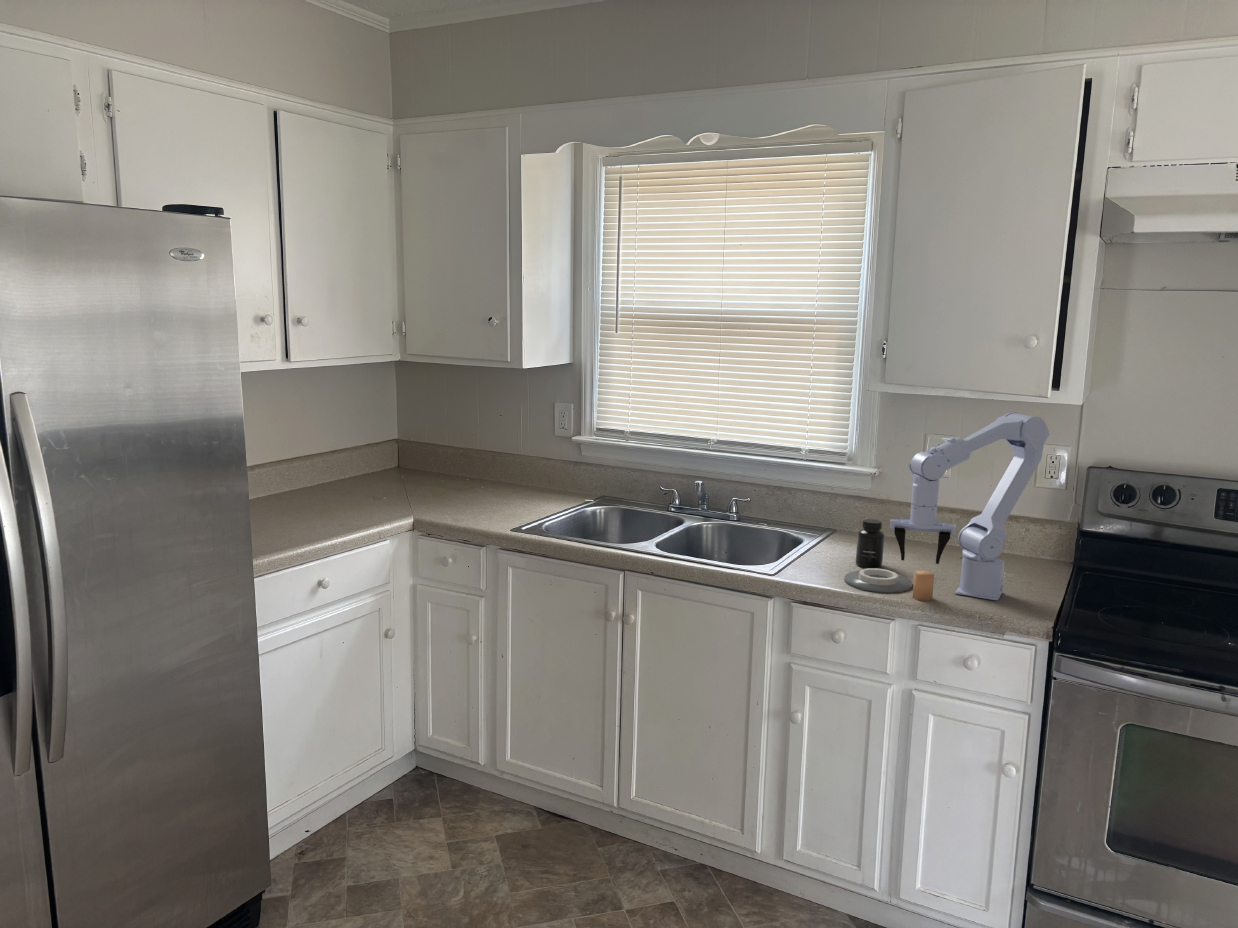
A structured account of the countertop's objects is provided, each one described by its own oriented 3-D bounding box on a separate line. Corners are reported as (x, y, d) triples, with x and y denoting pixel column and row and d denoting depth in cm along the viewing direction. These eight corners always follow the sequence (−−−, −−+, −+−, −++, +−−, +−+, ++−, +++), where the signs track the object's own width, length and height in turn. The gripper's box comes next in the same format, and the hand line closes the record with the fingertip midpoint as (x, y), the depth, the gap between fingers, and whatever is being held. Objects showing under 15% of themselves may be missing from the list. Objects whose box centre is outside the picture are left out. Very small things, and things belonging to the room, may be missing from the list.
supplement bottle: (864, 569, 233) (867, 524, 231) (850, 562, 239) (853, 518, 237) (887, 568, 235) (890, 523, 233) (873, 560, 241) (876, 517, 239)
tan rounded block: (934, 597, 212) (936, 572, 211) (930, 602, 208) (932, 577, 207) (914, 593, 214) (916, 569, 213) (910, 598, 210) (912, 574, 209)
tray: (918, 579, 225) (919, 570, 225) (902, 597, 211) (903, 587, 211) (854, 569, 233) (855, 560, 233) (836, 585, 219) (836, 576, 219)
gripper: (957, 503, 210) (952, 559, 213) (892, 498, 215) (888, 553, 217) (957, 509, 204) (953, 567, 206) (891, 504, 208) (887, 561, 211)
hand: (919, 561), depth 211 cm, fingers open, 7 cm apart
